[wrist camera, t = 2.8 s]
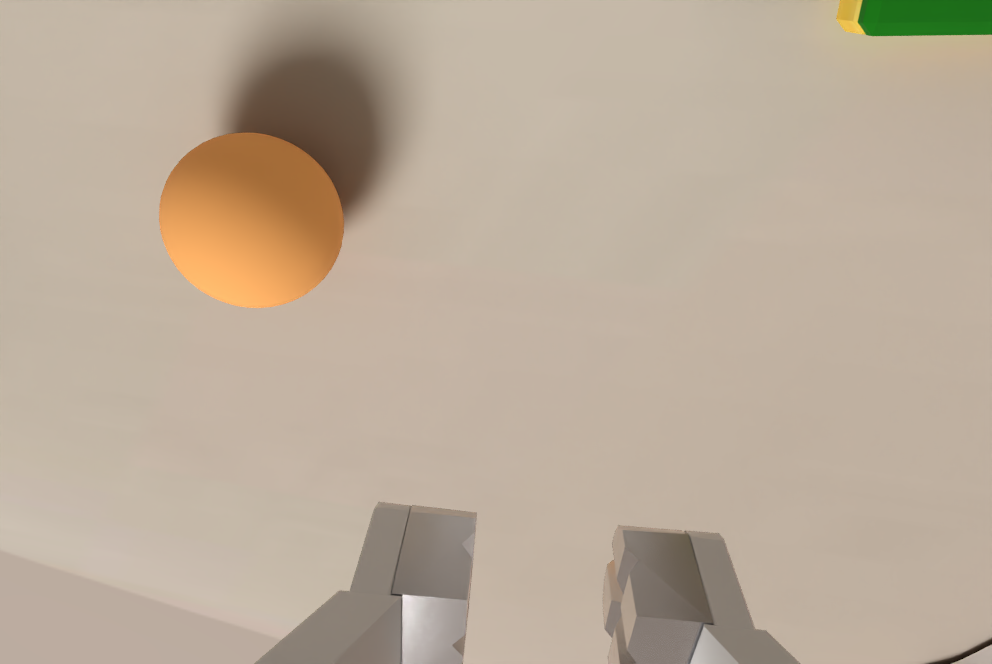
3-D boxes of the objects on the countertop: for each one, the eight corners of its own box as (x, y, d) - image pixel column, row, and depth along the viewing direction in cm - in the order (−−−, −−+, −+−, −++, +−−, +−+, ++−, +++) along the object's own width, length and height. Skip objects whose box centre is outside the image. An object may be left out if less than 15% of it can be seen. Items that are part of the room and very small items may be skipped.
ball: (362, 273, 24) (321, 346, 20) (218, 260, 24) (141, 330, 20) (358, 124, 22) (310, 166, 17) (196, 110, 22) (101, 147, 17)
